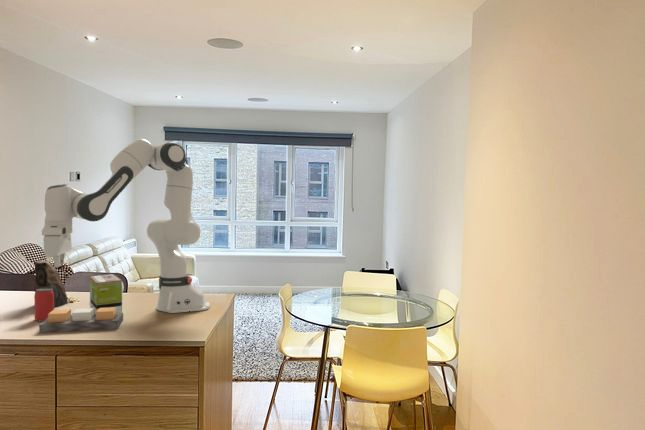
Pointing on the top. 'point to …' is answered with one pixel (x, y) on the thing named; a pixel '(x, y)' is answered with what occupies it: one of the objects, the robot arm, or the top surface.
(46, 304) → the beer can
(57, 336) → the top surface
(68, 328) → the dark grey tray
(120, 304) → the tea box
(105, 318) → the key
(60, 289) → the owl
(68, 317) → the key
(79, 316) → the key middle
